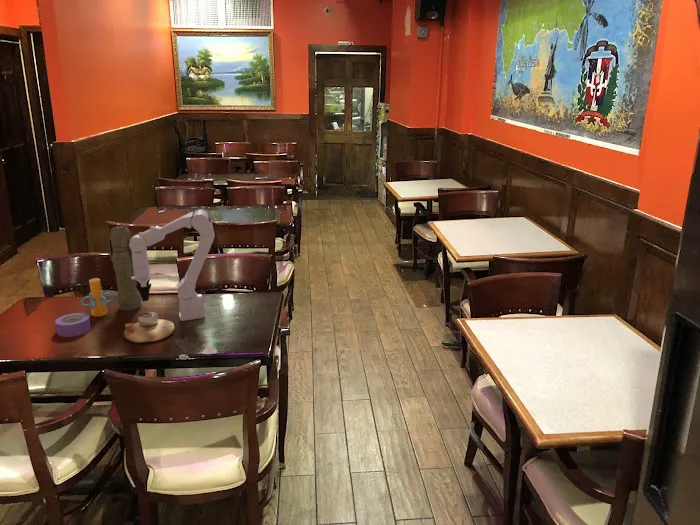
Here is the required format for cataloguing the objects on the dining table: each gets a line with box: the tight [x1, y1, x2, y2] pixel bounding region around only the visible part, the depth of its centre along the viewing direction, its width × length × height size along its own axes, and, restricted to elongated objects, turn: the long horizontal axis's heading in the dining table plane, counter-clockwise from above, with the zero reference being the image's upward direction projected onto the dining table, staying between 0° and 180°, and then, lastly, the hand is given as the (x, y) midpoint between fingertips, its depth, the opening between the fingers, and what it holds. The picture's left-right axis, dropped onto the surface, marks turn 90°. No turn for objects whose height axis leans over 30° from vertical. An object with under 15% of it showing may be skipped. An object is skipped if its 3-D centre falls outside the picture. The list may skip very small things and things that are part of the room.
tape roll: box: [54, 312, 92, 338], centre depth 217 cm, size 12×12×5 cm
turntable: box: [123, 318, 175, 343], centre depth 214 cm, size 18×18×4 cm
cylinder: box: [80, 277, 115, 318], centre depth 230 cm, size 12×10×15 cm
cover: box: [137, 311, 159, 328], centre depth 218 cm, size 7×7×4 cm
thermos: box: [107, 225, 142, 312], centre depth 234 cm, size 9×12×35 cm
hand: (145, 298), depth 223 cm, fingers open, 5 cm apart
